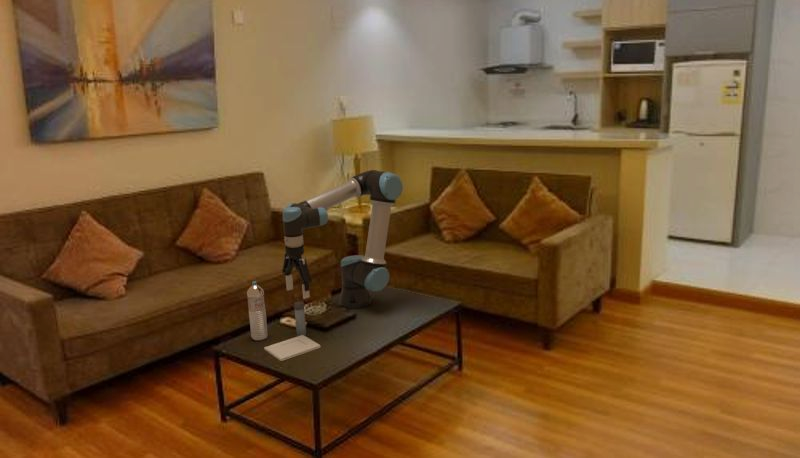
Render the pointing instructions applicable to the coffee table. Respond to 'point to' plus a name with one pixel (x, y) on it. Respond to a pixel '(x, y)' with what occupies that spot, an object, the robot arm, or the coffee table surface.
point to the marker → (300, 318)
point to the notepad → (292, 347)
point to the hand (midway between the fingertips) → (298, 293)
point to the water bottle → (257, 312)
